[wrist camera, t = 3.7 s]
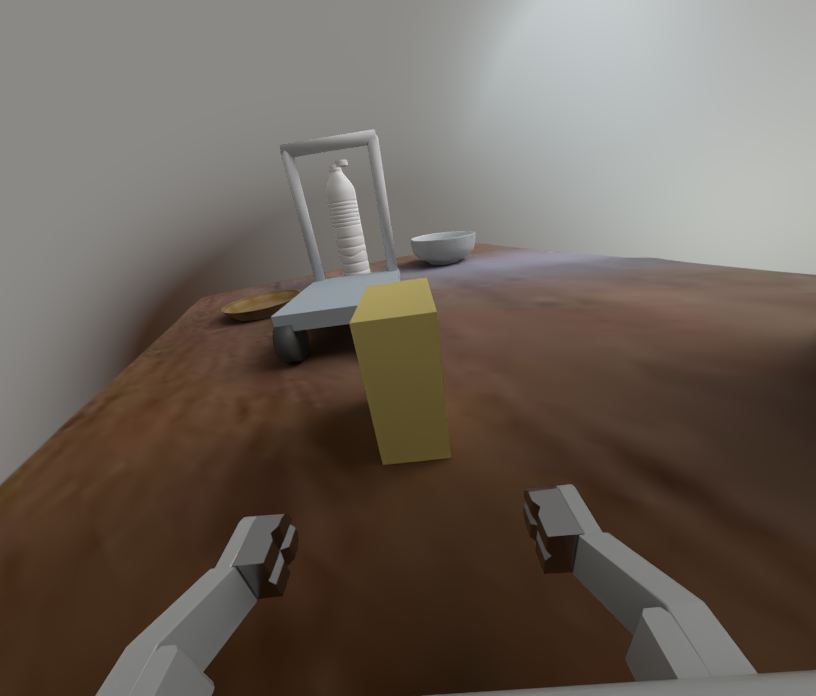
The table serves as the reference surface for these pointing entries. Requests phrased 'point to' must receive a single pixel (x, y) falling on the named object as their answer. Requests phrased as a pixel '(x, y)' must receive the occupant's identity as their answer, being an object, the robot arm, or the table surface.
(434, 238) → the cereal bowl
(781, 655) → the table surface
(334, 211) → the water bottle
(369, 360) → the yellow rectangular block
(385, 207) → the trolley
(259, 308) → the plant saucer
